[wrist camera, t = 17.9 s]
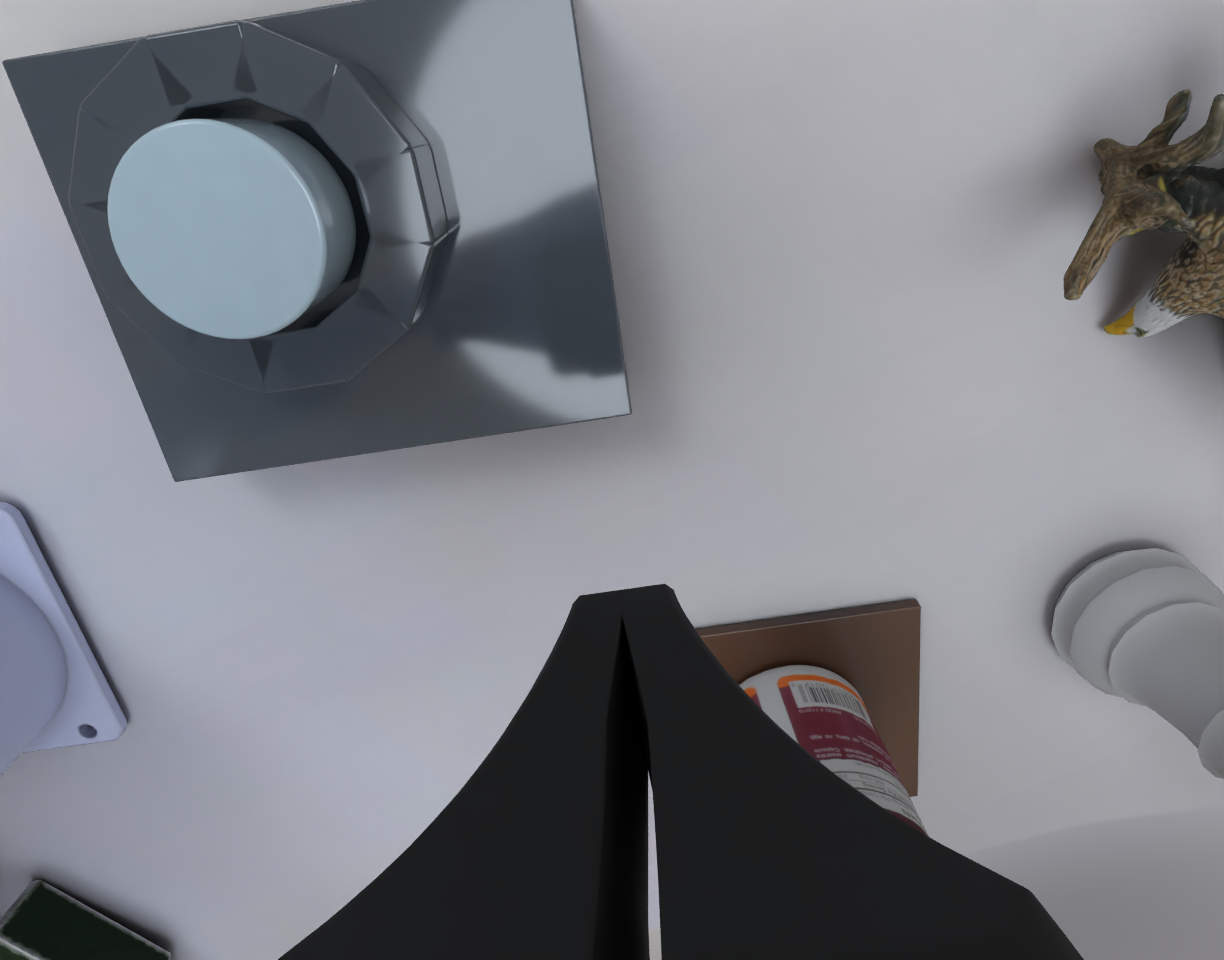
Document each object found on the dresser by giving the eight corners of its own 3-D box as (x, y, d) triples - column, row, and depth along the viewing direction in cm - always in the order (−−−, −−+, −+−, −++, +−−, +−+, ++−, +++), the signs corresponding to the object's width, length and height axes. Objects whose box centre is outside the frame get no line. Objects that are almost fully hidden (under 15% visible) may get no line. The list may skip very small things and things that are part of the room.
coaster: (675, 817, 27) (676, 827, 27) (646, 635, 24) (647, 643, 23) (913, 787, 27) (917, 796, 26) (916, 598, 24) (921, 605, 23)
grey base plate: (213, 448, 21) (135, 517, 17) (67, 66, 17) (-71, 53, 14) (628, 386, 21) (636, 443, 17) (569, -17, 17) (565, -54, 13)
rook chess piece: (1194, 521, 23) (1480, 711, 15) (1195, 645, 25) (1451, 867, 17) (1036, 563, 23) (1241, 768, 16) (1048, 681, 25) (1237, 914, 18)
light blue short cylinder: (204, 327, 16) (154, 354, 14) (134, 135, 15) (68, 138, 13) (378, 300, 16) (351, 324, 14) (326, 103, 15) (288, 101, 13)
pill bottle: (751, 800, 26) (819, 1082, 19) (686, 699, 24) (732, 965, 17) (887, 744, 25) (1017, 1014, 18) (831, 635, 24) (949, 884, 16)
